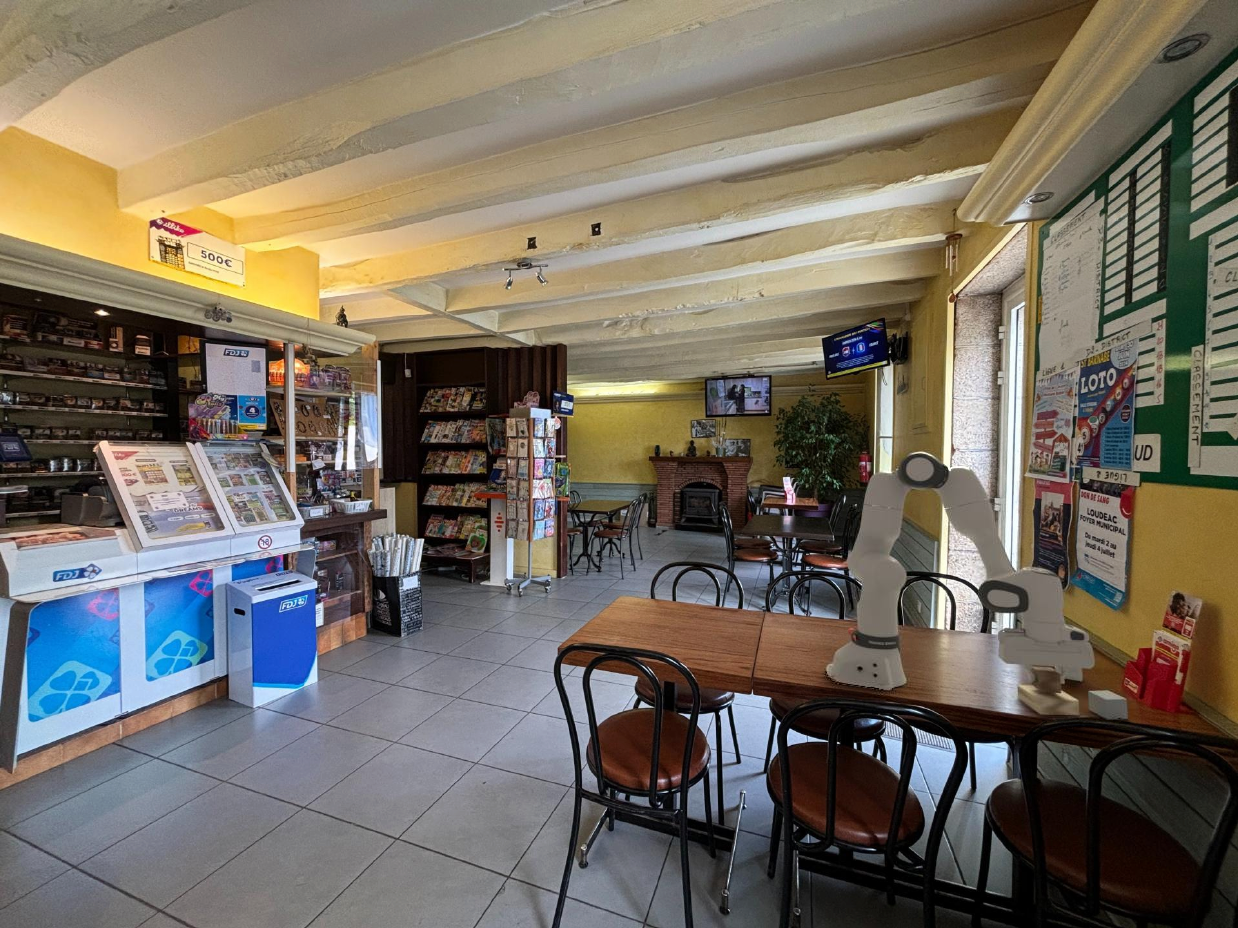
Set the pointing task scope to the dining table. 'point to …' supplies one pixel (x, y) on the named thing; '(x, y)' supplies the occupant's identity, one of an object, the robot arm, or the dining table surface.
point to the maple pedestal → (1048, 701)
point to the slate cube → (1108, 704)
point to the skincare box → (1072, 673)
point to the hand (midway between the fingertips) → (1046, 681)
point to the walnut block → (1047, 679)
